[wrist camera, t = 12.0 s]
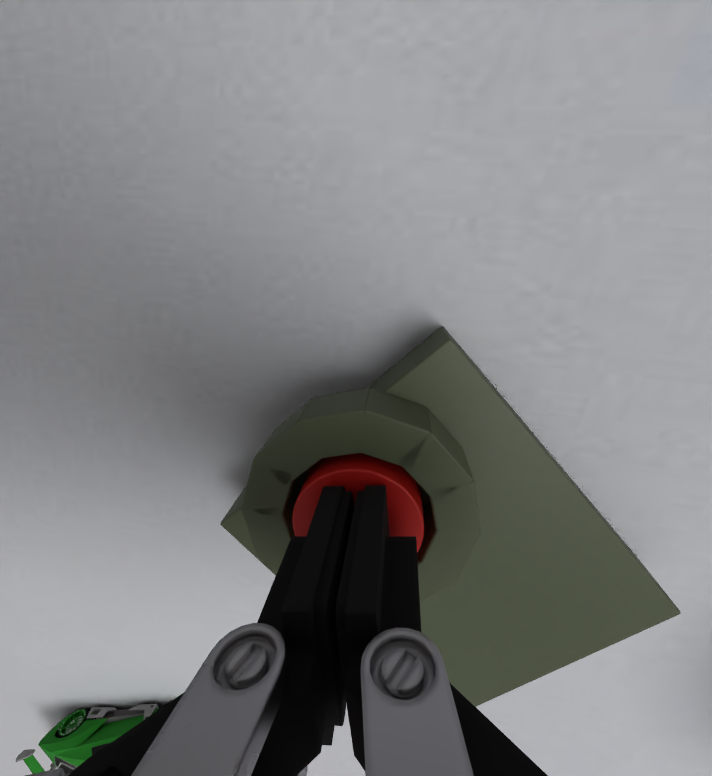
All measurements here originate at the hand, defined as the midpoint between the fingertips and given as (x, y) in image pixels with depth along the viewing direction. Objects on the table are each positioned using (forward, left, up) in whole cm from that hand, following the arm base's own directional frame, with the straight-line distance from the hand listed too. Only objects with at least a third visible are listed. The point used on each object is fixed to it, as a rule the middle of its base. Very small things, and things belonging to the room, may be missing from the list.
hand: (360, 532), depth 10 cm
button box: (0, +4, -4) cm, 6 cm away
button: (0, 0, -2) cm, 2 cm away
